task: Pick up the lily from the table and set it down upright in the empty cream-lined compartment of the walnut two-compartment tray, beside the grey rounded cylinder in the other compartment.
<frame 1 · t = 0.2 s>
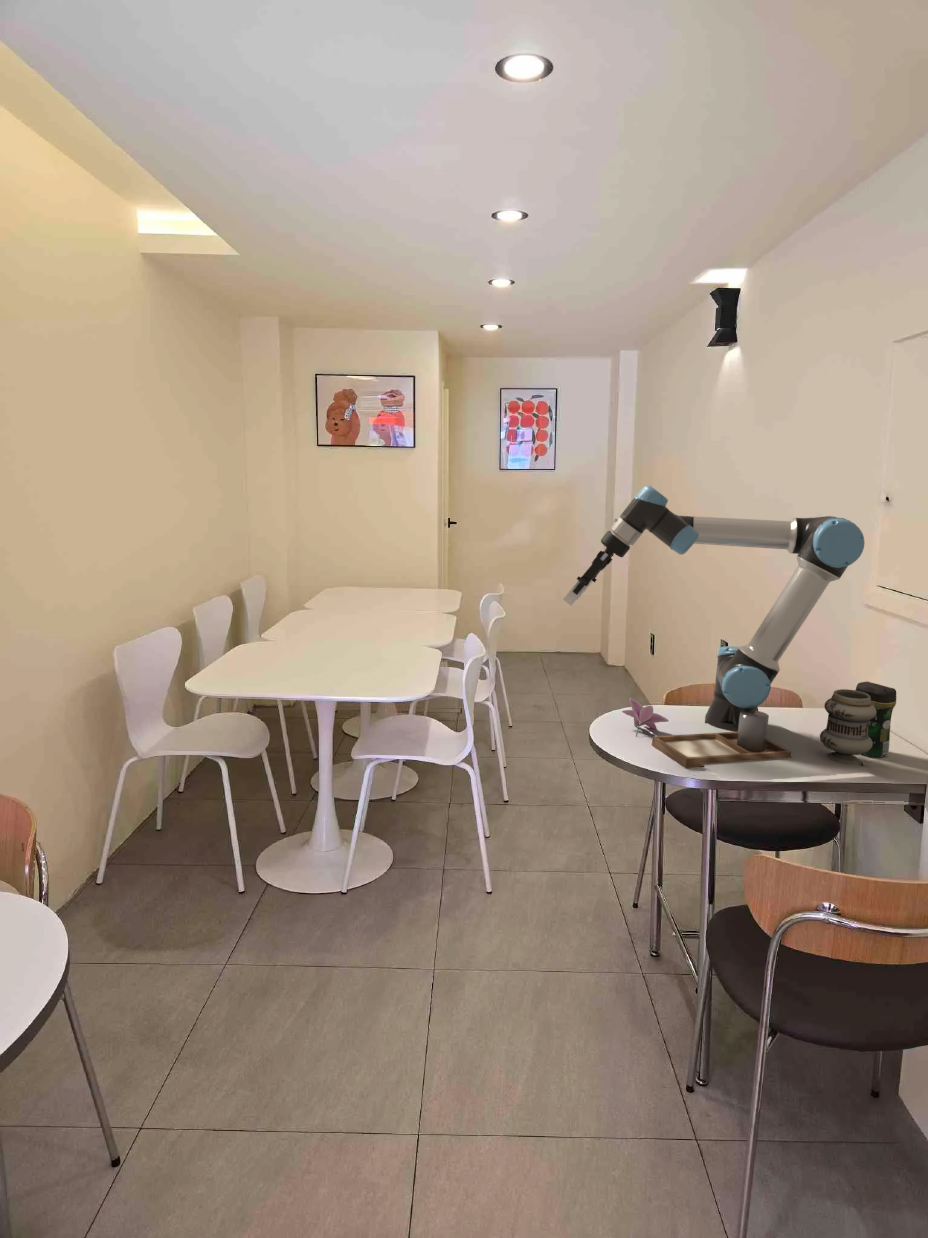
hand: (570, 599, 218), 35 cm above the table, tool tilted 35°, fingers open, 13 cm apart
lily: (642, 733, 219), on the table
grey rounded cylinder: (750, 747, 207), point 1 cm above the table, touching tray
coffee jar: (866, 752, 210), on the table
tray: (719, 753, 205), on the table
apothecary jar: (842, 762, 202), on the table
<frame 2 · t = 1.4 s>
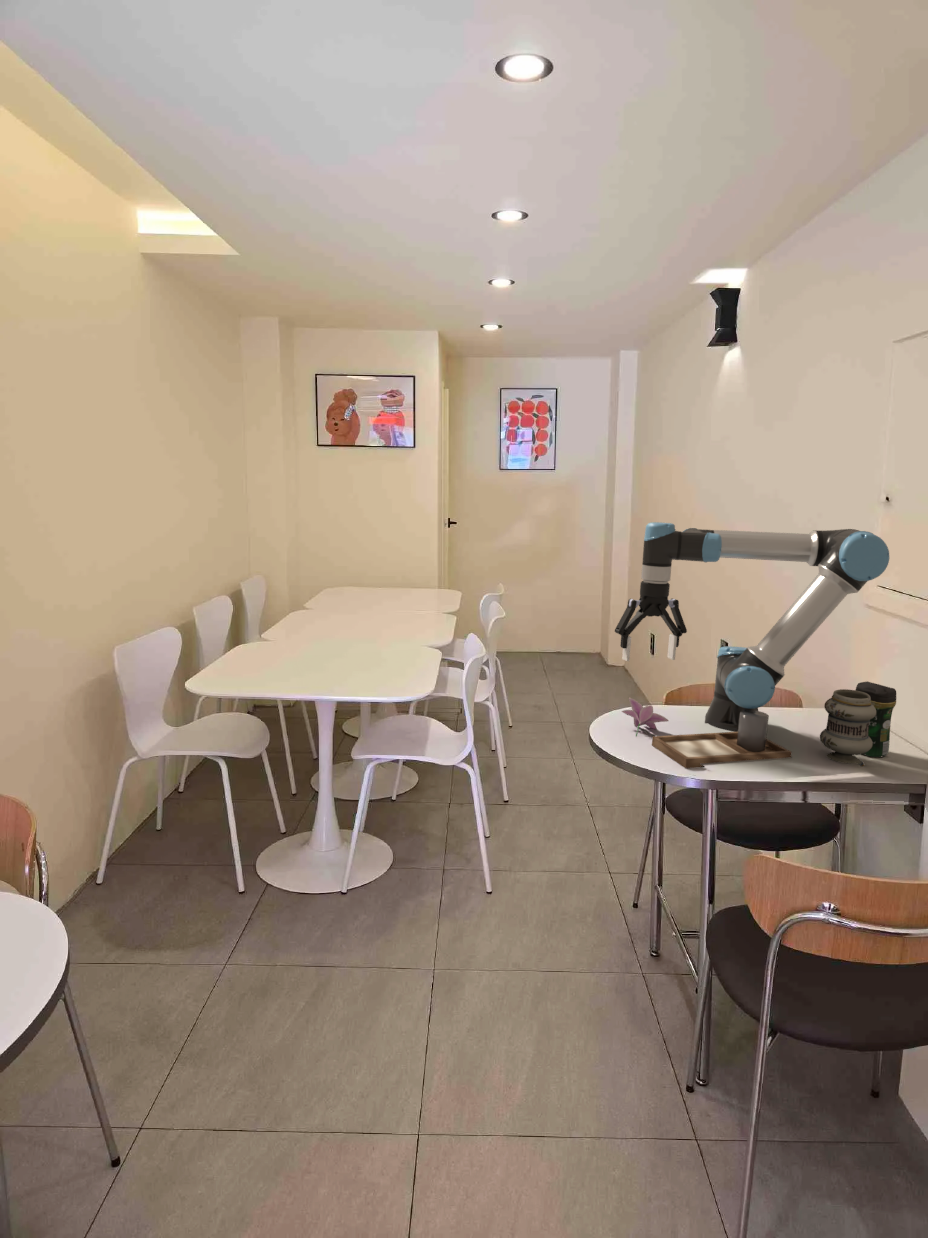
hand: (648, 659, 215), 21 cm above the table, tool pointing down, fingers open, 13 cm apart
nothing on the table moved.
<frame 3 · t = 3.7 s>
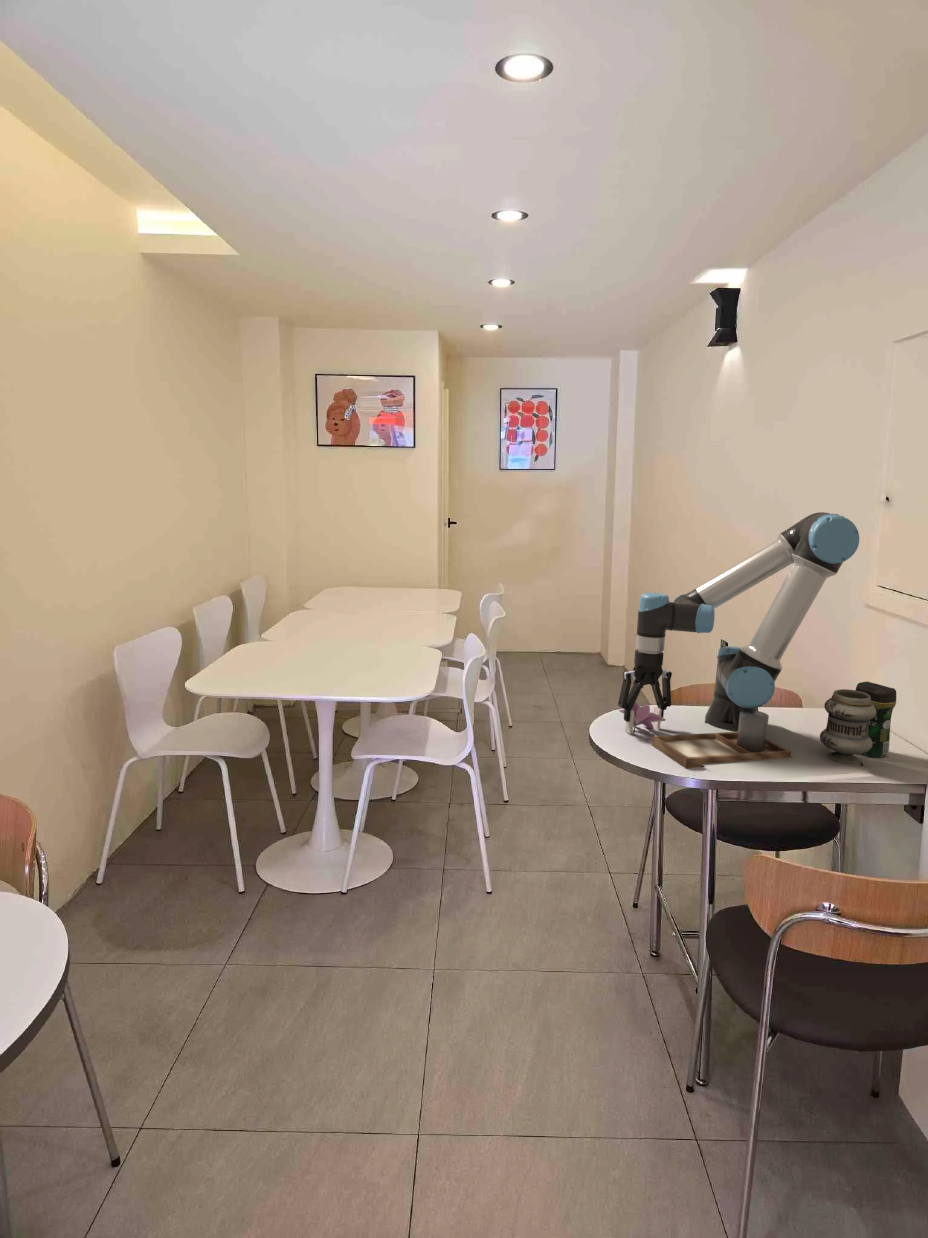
hand: (642, 731, 218), 0 cm above the table, tool pointing down, fingers closed on lily, 7 cm apart
lily: (639, 733, 219), on the table, touching gripper
everything else where it was.
when the fingers open (2 cm above the table, at t = 10.4 s): lily stays where it is, resting on tray.
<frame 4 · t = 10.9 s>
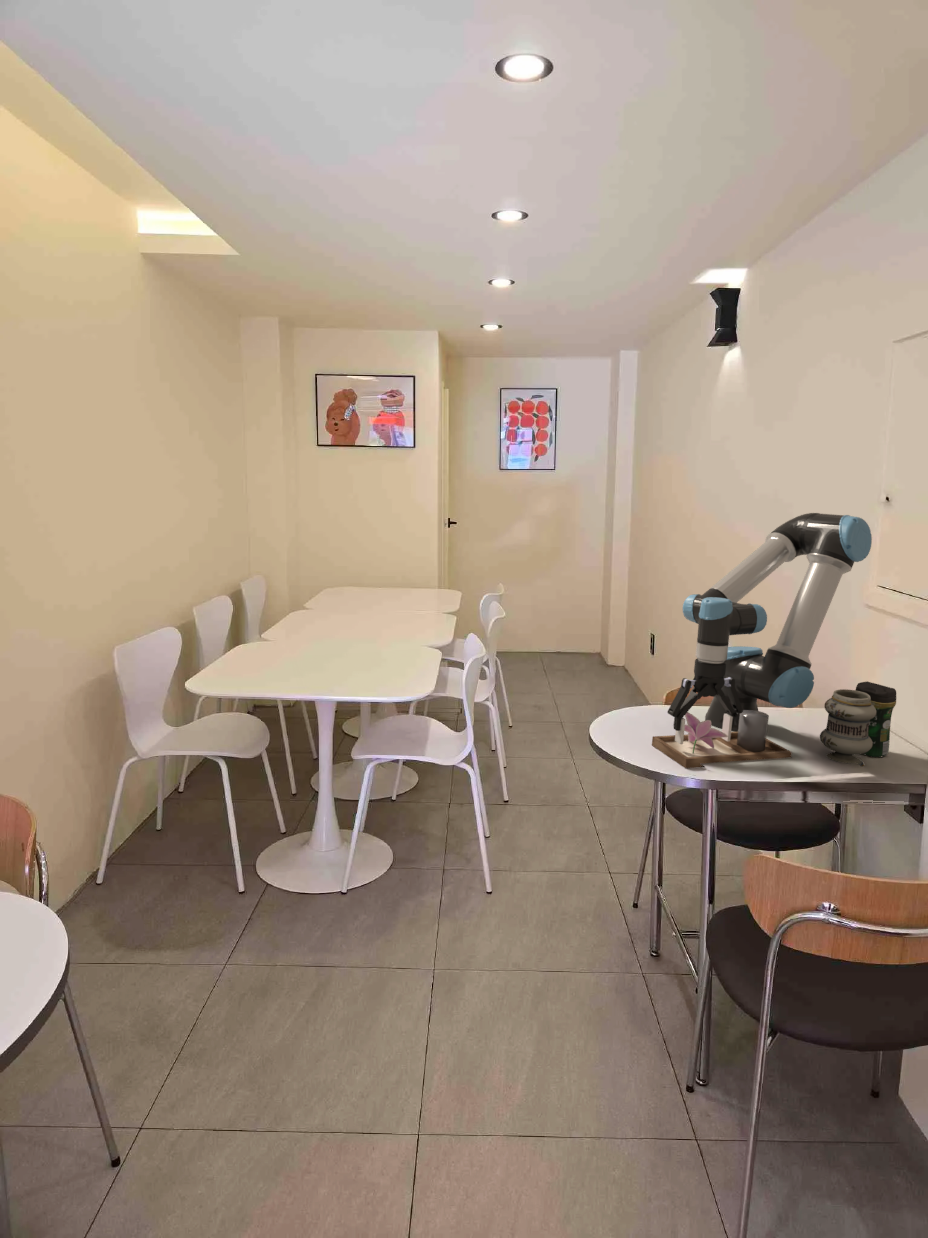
hand: (702, 741, 203), 3 cm above the table, tool pointing down, fingers open, 13 cm apart
lily: (698, 749, 204), point 1 cm above the table, touching tray
everything else where it was.
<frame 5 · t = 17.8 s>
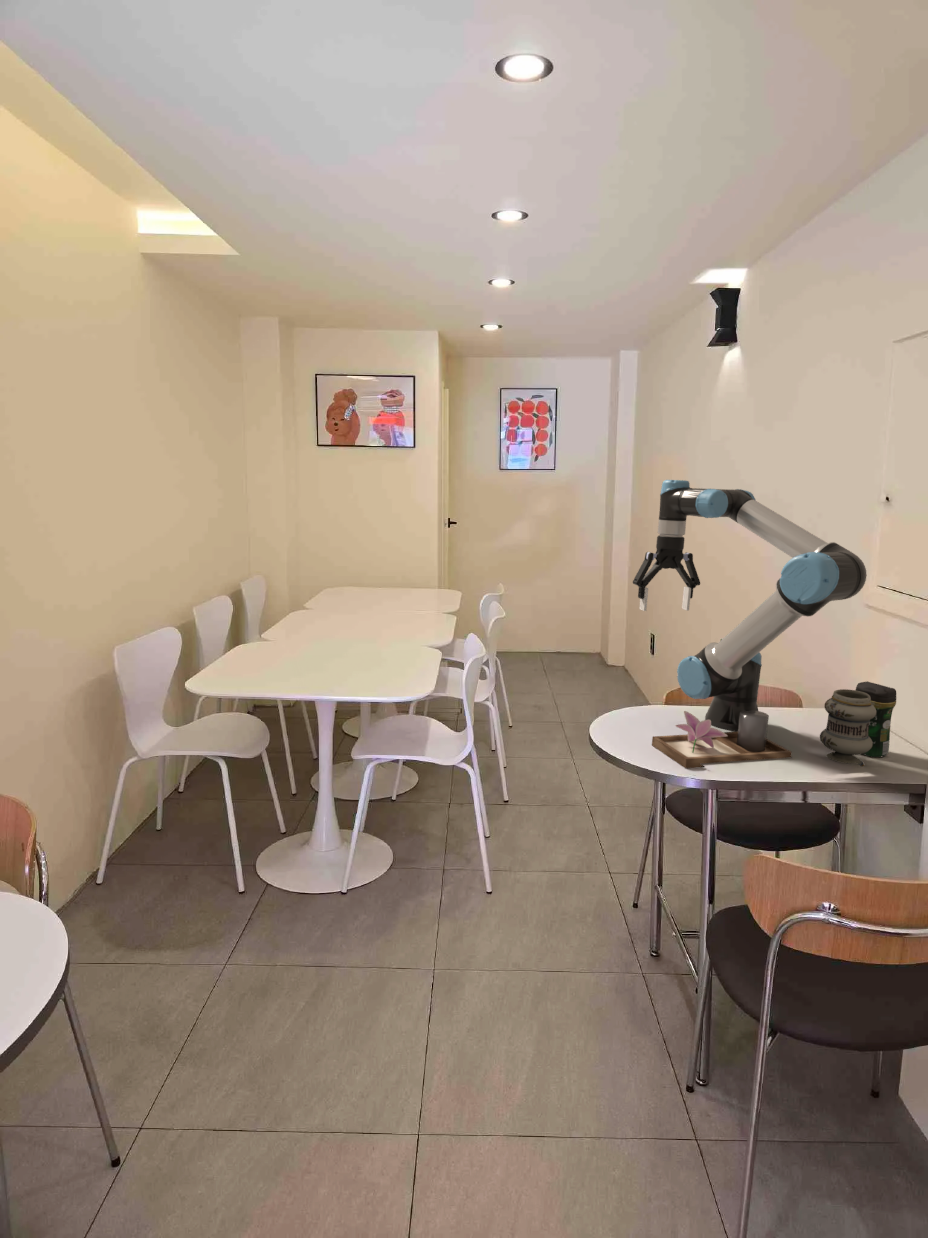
hand: (664, 610, 228), 32 cm above the table, tool pointing down, fingers open, 13 cm apart
nothing on the table moved.
at the end: lily inside the target area on the tray (1.0 cm from its centre), point 1.0 cm above the tray's base; lily tilted 0°; grey rounded cylinder moved 0.0 cm from its start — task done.
